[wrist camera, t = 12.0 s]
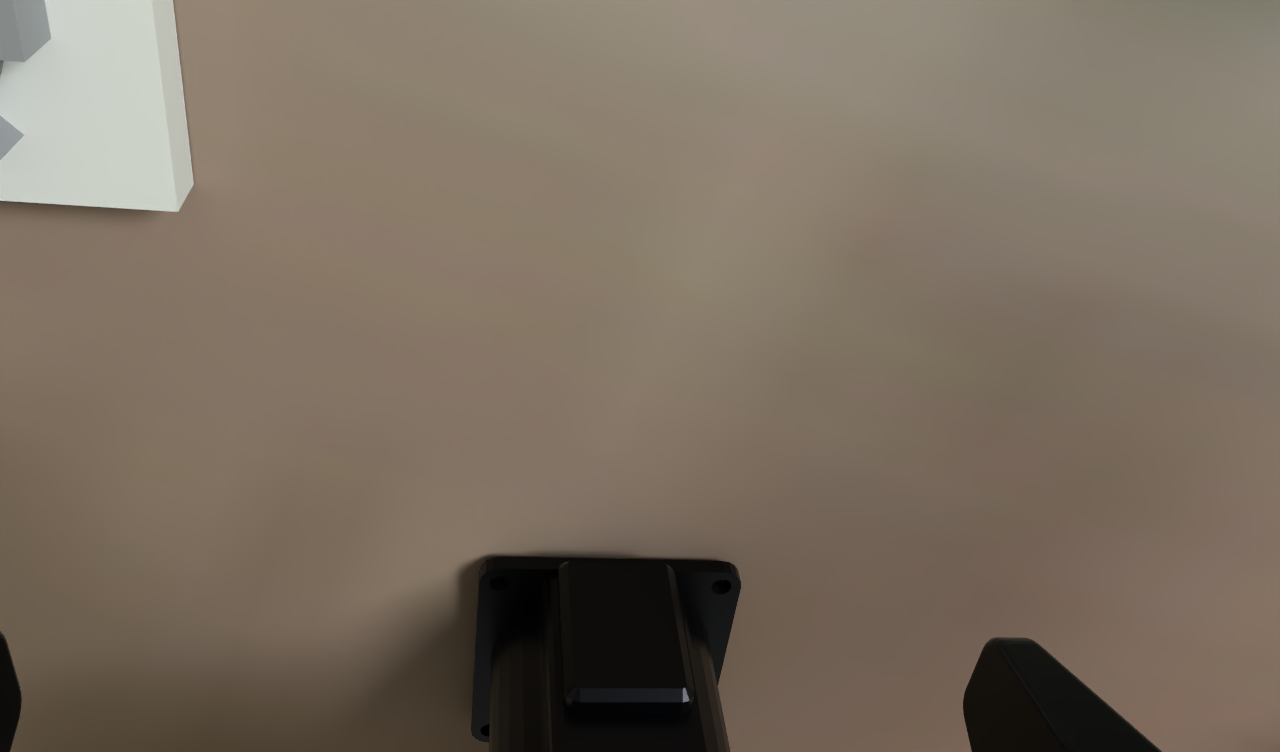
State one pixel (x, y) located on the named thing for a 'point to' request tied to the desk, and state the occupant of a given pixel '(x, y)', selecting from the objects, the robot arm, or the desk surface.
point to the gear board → (92, 104)
